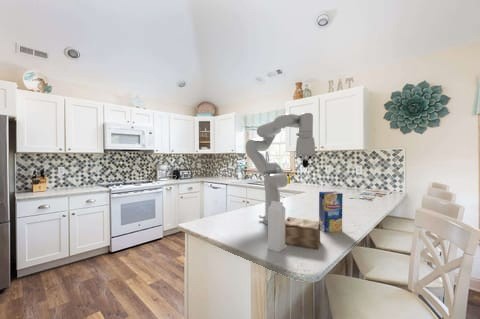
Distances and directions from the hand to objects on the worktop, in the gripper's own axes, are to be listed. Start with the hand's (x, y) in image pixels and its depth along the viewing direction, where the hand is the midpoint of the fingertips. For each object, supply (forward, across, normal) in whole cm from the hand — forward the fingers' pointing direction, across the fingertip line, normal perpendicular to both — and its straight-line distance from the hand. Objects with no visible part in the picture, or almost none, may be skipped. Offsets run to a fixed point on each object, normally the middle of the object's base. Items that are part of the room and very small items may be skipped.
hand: (305, 167), depth 130 cm
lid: (+27, +1, -18) cm, 33 cm away
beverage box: (+37, +13, +11) cm, 41 cm away
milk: (+37, -8, -30) cm, 48 cm away
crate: (+37, +2, -18) cm, 41 cm away
